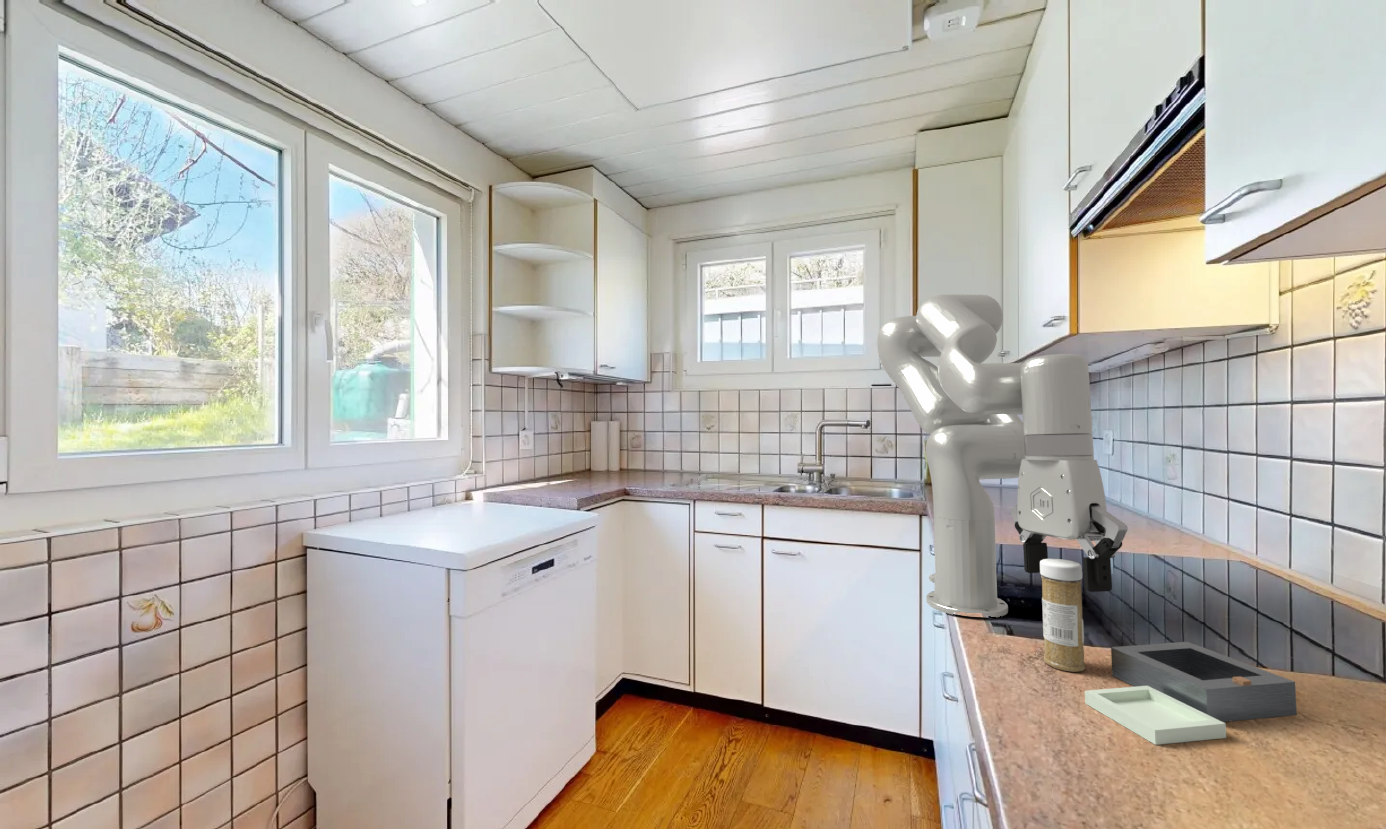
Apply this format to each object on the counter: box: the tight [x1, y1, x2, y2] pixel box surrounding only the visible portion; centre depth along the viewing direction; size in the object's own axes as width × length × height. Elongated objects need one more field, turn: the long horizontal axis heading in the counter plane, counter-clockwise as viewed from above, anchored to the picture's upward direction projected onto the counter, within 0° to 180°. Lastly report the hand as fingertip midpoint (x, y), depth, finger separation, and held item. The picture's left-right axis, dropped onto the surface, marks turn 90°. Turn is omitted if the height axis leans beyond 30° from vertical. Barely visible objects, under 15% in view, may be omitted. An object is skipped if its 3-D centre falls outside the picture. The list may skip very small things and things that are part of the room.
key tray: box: [1084, 686, 1227, 745], centre depth 56 cm, size 8×8×1 cm
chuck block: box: [1110, 641, 1298, 723], centre depth 62 cm, size 11×11×4 cm
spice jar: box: [1039, 558, 1086, 673], centre depth 70 cm, size 5×5×13 cm
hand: (1065, 580), depth 69 cm, fingers open, 9 cm apart
